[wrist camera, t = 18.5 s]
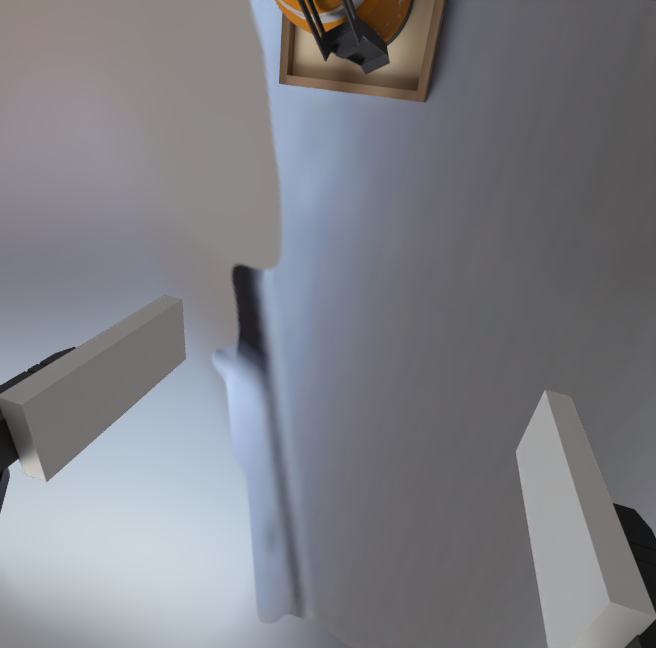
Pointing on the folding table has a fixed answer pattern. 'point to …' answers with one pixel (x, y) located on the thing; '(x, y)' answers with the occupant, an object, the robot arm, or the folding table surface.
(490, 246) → the folding table surface
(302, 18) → the canister
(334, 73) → the wooden tray
